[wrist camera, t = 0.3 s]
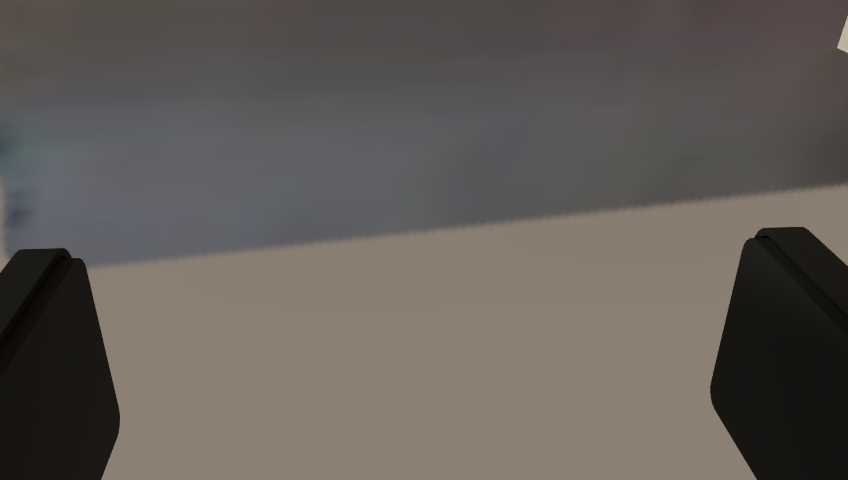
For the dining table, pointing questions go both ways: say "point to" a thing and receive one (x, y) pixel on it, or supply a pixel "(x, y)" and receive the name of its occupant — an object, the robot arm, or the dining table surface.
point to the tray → (844, 38)
